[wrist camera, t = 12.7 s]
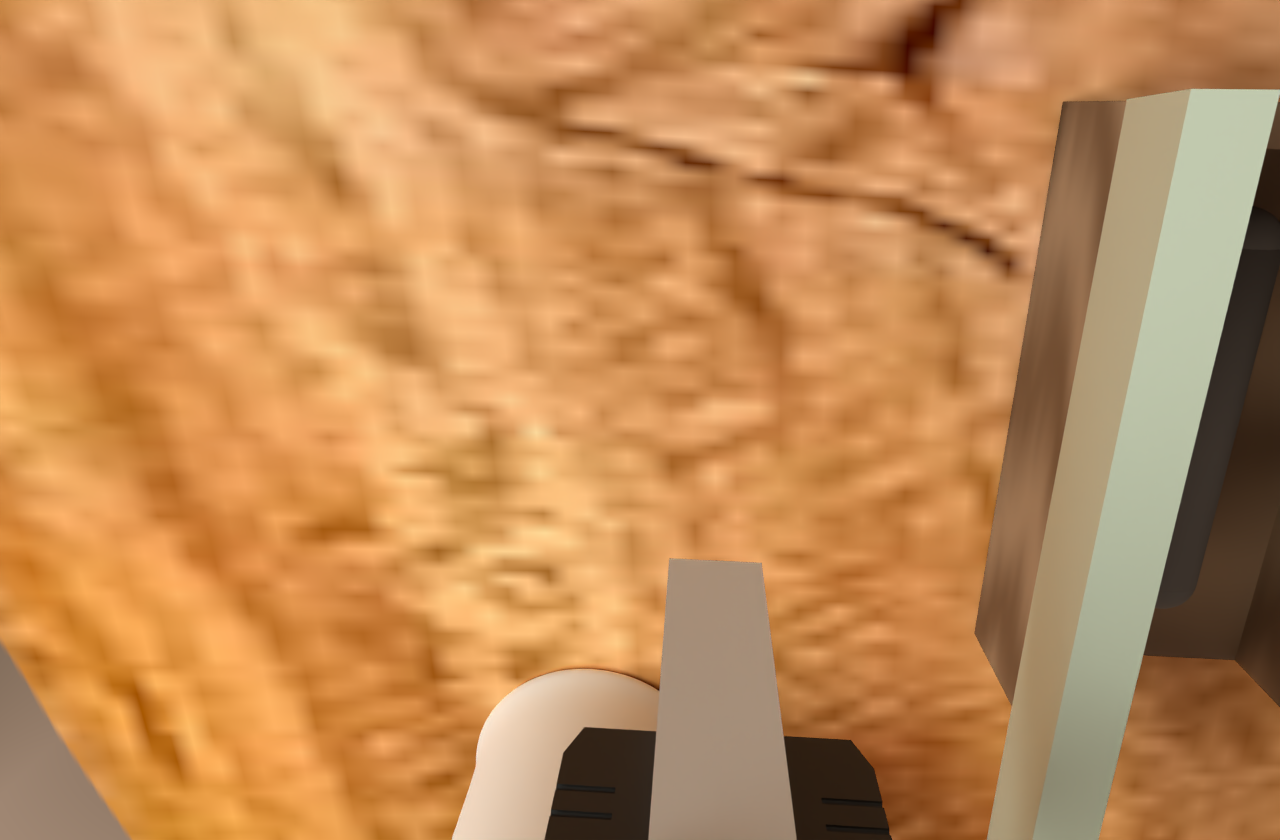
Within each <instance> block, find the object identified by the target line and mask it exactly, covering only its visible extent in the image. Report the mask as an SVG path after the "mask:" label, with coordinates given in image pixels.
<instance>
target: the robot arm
mask: <svg viewBox="0 0 1280 840" xmlns="http://www.w3.org/2000/svg"><path fill="white" fill-rule="evenodd" d="M544 840H892V838H891V835H889V826H888V822H887V818H886V814H885V810H884V808H882V799H881V795H880V791H879V787H878V783H877V779H876V775H875V771H874V769H873V767H872V766H871V765H870V764H869V762H868V761H867V760H866V759H865V757H864V756H863V755H862V754H861V752H860V751H859V750H858V749H857V747H856V746H855V745H854V744H853V742H852V741H851V740H839V739H822V738H805V737H788V736H783V728H782V720H781V712H780V704H779V696H778V689H777V681H776V673H775V665H774V657H773V649H772V641H771V634H770V626H769V618H768V610H767V602H766V594H765V586H764V578H763V571H762V563H754V562H733V561H712V560H692V559H671V558H669V570H668V583H667V597H666V610H665V623H664V637H663V650H662V663H661V677H660V690H659V704H658V717H657V730H656V731H643V730H626V729H609V728H593V727H584V728H583V729H582V730H581V732H580V733H579V734H578V735H577V737H576V738H575V739H574V740H573V741H572V743H571V744H570V745H569V746H568V747H567V749H566V750H565V751H564V752H563V756H562V761H561V765H560V770H559V774H558V779H557V784H556V790H555V793H554V798H553V802H552V807H551V815H550V816H549V821H548V825H547V830H546V835H545V839H544Z"/></svg>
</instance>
